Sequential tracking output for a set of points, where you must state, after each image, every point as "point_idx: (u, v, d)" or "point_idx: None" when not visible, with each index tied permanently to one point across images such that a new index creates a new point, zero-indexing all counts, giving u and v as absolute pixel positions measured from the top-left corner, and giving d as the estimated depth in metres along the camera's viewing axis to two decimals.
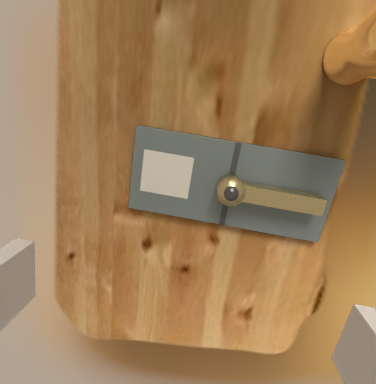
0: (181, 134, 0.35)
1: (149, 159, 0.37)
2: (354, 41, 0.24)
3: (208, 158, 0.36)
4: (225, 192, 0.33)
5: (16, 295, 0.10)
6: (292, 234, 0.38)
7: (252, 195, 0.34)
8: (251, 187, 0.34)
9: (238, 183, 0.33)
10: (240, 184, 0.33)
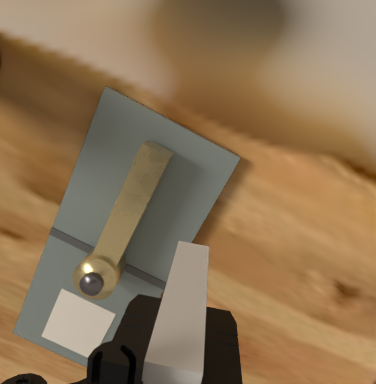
0: (30, 291, 0.27)
1: (54, 335, 0.28)
2: None
3: (66, 272, 0.26)
4: (86, 292, 0.21)
5: None
6: (212, 194, 0.22)
7: (108, 251, 0.21)
8: (96, 248, 0.22)
9: (80, 268, 0.21)
10: (82, 266, 0.21)
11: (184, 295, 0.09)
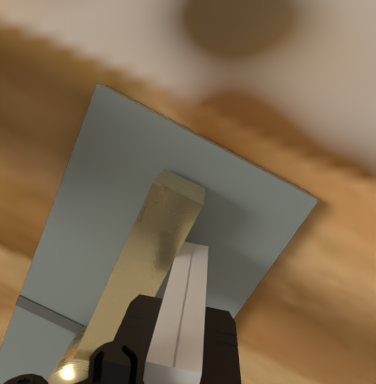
0: None
1: None
2: None
3: (42, 356, 0.18)
4: None
5: None
6: (268, 254, 0.14)
7: None
8: (81, 345, 0.13)
9: (56, 378, 0.13)
10: (59, 375, 0.13)
11: (183, 295, 0.09)
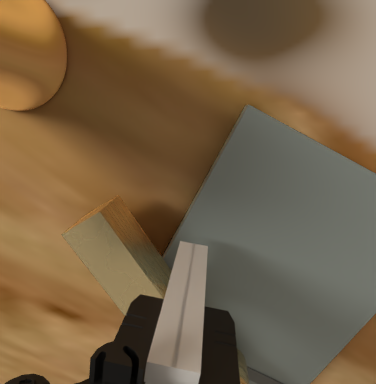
0: None
1: None
2: None
3: None
4: None
5: None
6: None
7: None
8: None
9: None
10: None
11: (182, 295, 0.09)
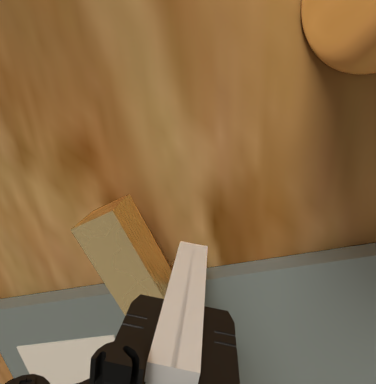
0: (67, 302, 0.16)
1: (35, 360, 0.18)
2: None
3: None
4: None
5: None
6: None
7: None
8: None
9: None
10: None
11: (182, 295, 0.09)
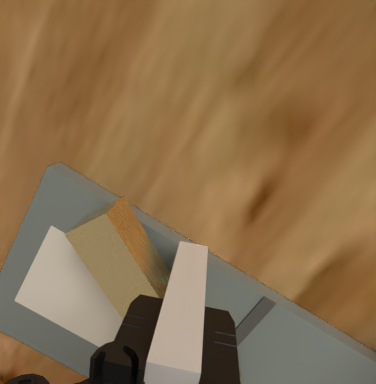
0: (150, 231, 0.14)
1: (57, 251, 0.15)
2: None
3: None
4: None
5: None
6: None
7: None
8: None
9: None
10: None
11: (182, 295, 0.09)
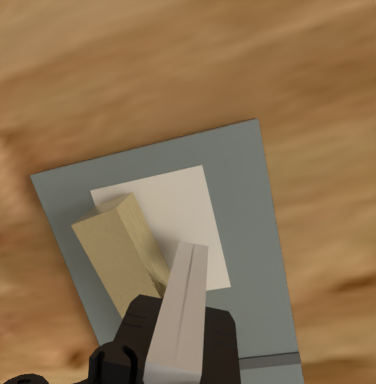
0: (275, 241, 0.14)
1: (181, 188, 0.13)
2: None
3: (240, 313, 0.15)
4: None
5: None
6: None
7: None
8: None
9: None
10: None
11: (183, 295, 0.09)
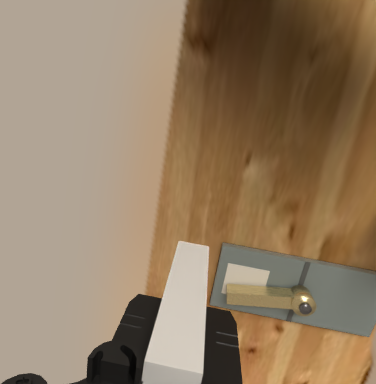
0: (260, 253, 0.43)
1: (232, 270, 0.45)
2: None
3: (281, 272, 0.44)
4: (310, 310, 0.41)
5: None
6: (348, 330, 0.46)
7: (285, 302, 0.42)
8: (286, 308, 0.43)
9: (299, 313, 0.42)
10: (297, 313, 0.42)
11: (184, 295, 0.09)
